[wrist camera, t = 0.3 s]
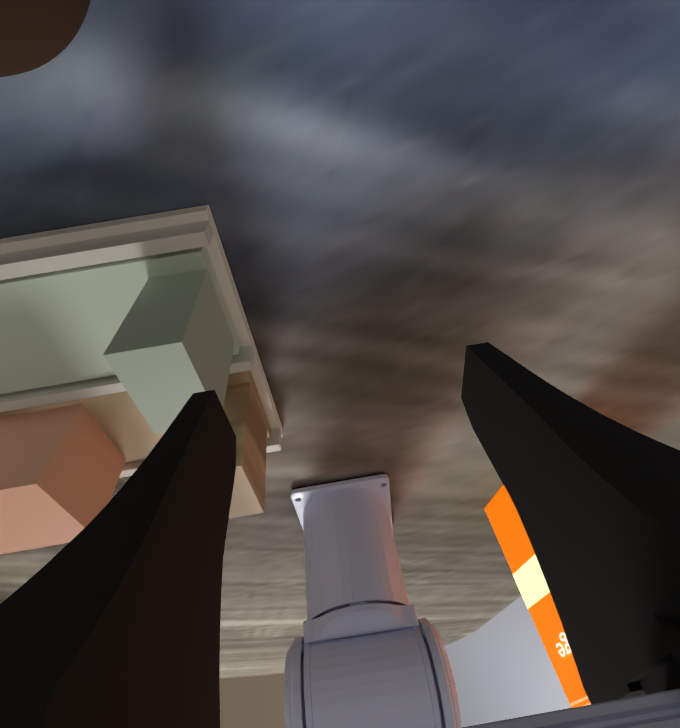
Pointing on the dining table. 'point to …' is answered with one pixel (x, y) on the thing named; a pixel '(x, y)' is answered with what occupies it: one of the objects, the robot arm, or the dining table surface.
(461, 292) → the dining table surface
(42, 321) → the strip
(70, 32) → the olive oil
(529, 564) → the orange juice
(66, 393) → the lane board
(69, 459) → the block
